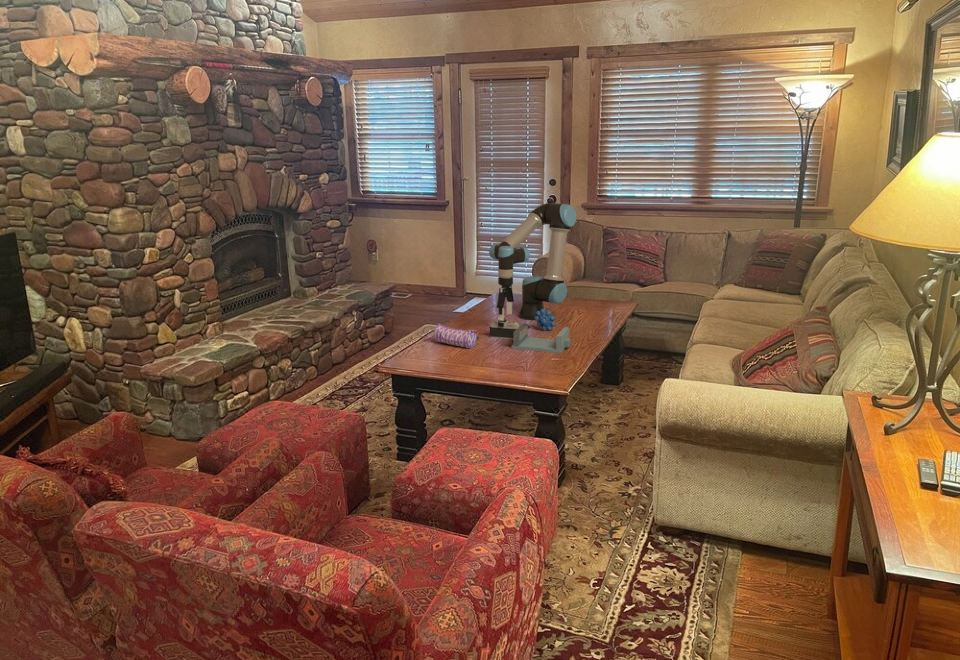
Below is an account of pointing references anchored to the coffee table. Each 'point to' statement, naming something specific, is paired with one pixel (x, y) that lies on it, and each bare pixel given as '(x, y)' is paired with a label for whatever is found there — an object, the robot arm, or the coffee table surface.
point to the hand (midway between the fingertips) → (505, 317)
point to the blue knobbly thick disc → (545, 319)
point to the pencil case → (455, 336)
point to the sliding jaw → (521, 334)
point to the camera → (503, 329)
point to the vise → (547, 343)
